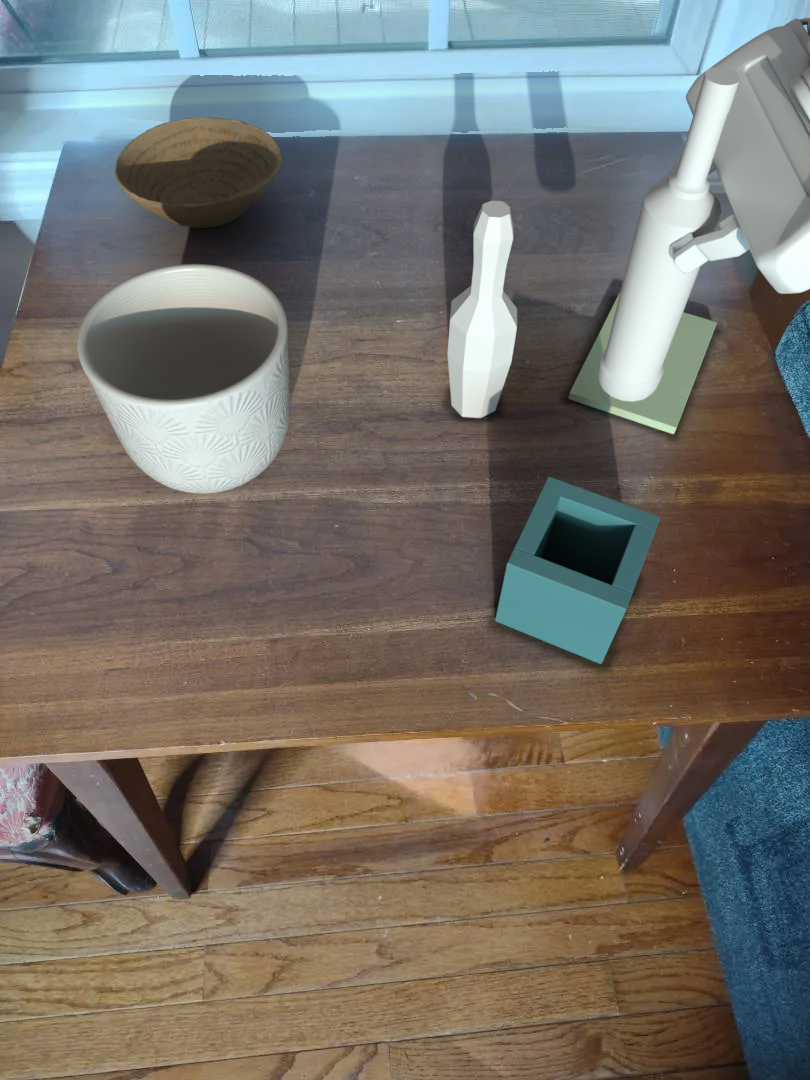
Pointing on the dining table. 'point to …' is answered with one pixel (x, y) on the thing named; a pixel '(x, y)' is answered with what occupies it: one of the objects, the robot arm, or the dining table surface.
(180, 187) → the bowl
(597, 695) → the dining table surface
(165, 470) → the planter
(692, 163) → the bottle
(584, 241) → the dining table surface
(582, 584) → the holster
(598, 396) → the mat
